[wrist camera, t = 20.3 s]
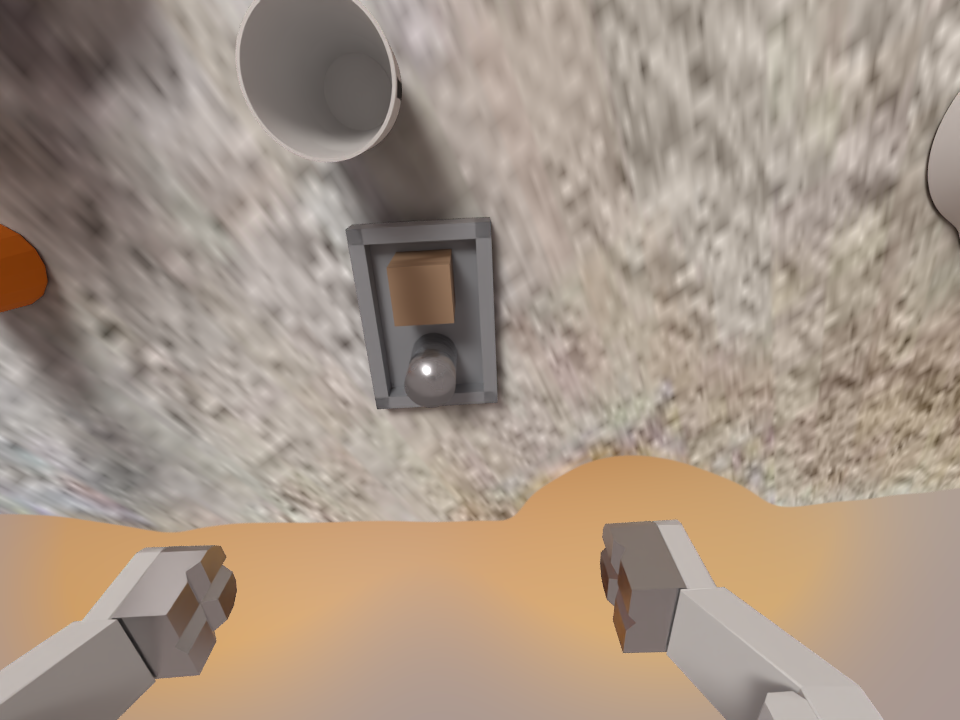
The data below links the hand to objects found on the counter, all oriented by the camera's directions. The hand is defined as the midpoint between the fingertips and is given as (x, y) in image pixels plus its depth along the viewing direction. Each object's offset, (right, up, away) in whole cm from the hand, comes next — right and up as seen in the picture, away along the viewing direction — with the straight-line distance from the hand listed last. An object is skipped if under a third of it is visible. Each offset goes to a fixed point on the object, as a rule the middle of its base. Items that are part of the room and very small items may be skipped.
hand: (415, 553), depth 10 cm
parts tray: (-3, +8, +30) cm, 31 cm away
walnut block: (-3, +11, +28) cm, 30 cm away
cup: (-7, +23, +23) cm, 33 cm away
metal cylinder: (-3, +5, +31) cm, 32 cm away
